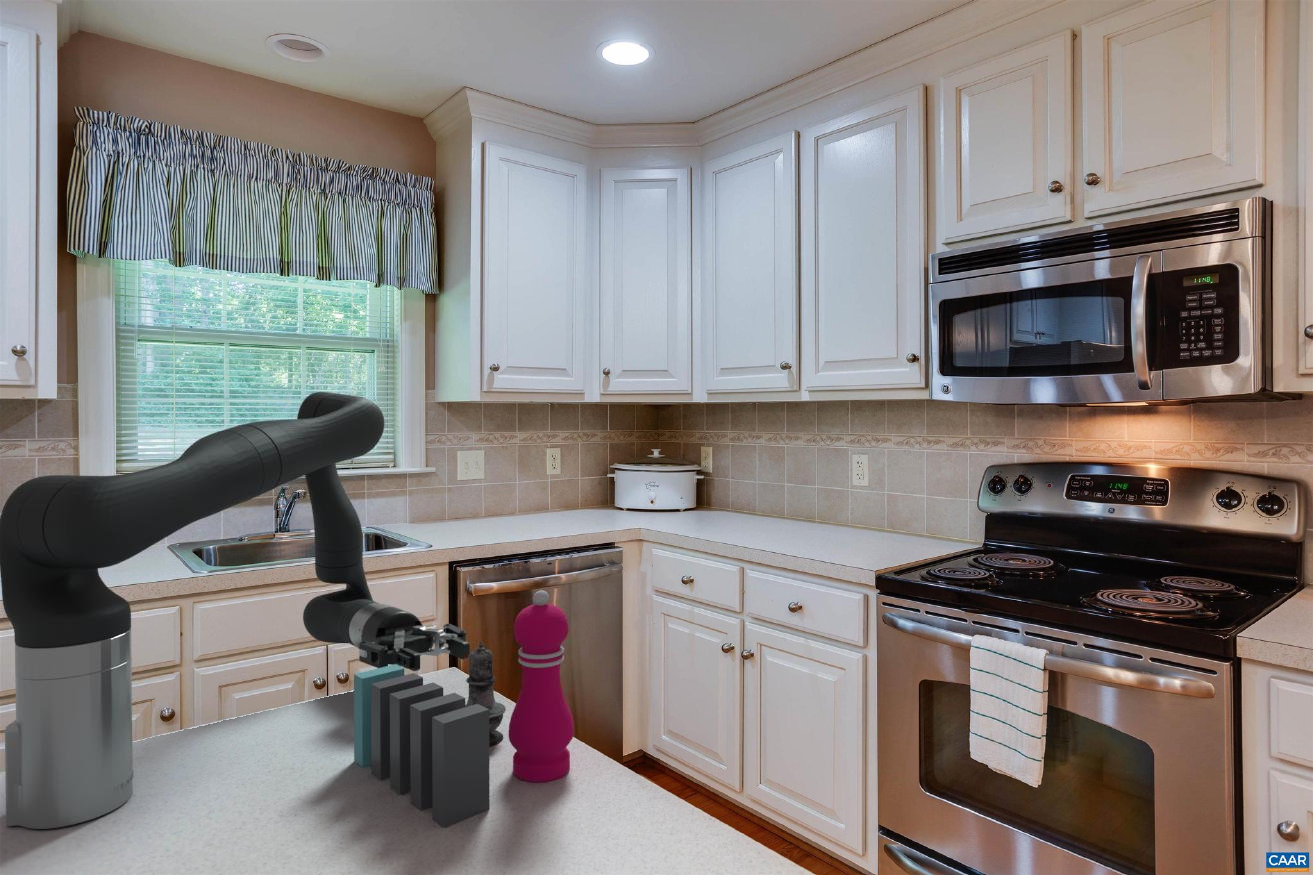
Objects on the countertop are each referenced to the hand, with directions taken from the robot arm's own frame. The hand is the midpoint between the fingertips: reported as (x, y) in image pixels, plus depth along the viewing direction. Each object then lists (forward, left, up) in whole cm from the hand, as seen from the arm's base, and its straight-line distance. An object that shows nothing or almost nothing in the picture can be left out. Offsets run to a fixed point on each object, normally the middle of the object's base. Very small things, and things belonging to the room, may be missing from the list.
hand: (442, 656), depth 98 cm
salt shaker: (+5, -8, -8) cm, 13 cm away
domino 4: (0, -22, -8) cm, 23 cm away
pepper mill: (+11, -18, -8) cm, 23 cm away
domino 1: (-7, -10, -8) cm, 15 cm away
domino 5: (+2, -26, -8) cm, 27 cm away
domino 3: (-2, -18, -8) cm, 20 cm away
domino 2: (-5, -14, -8) cm, 17 cm away
